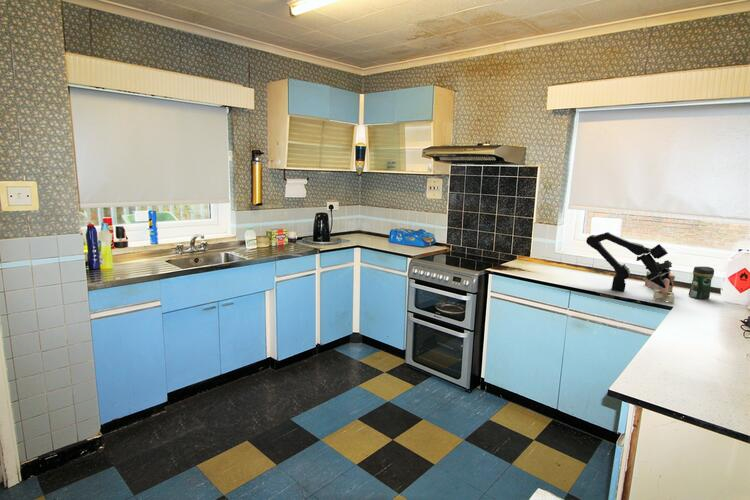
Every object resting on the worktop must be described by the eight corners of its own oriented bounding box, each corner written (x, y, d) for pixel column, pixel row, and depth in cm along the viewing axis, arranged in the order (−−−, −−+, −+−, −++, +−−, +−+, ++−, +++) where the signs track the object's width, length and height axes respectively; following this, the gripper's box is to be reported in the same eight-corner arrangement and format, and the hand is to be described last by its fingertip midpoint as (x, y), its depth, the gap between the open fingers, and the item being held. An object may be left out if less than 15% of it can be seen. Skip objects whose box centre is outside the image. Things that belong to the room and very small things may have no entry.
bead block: (653, 300, 241) (655, 293, 240) (653, 296, 249) (654, 289, 248) (673, 303, 237) (674, 296, 236) (672, 299, 244) (673, 292, 243)
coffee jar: (700, 295, 254) (706, 265, 250) (711, 299, 246) (718, 268, 242) (685, 295, 253) (691, 264, 249) (695, 299, 245) (702, 268, 241)
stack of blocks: (644, 284, 273) (647, 266, 270) (655, 285, 272) (658, 266, 269) (660, 294, 252) (663, 274, 250) (671, 295, 251) (675, 275, 249)
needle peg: (659, 299, 242) (663, 278, 240) (659, 298, 245) (663, 277, 242) (666, 300, 241) (670, 279, 238) (665, 299, 243) (670, 278, 241)
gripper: (656, 257, 235) (675, 281, 229) (669, 254, 246) (688, 277, 240) (638, 268, 243) (656, 291, 237) (652, 264, 254) (669, 287, 248)
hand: (668, 286), depth 240 cm, fingers open, 9 cm apart
